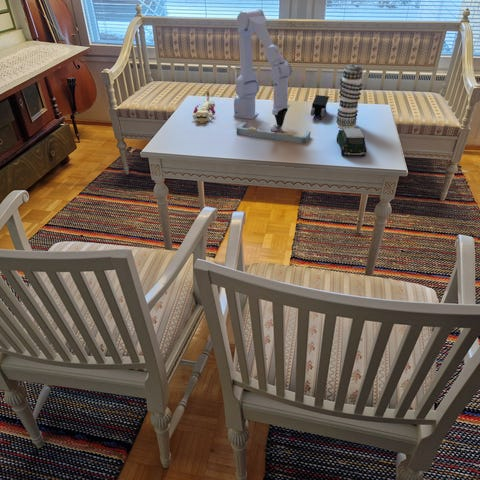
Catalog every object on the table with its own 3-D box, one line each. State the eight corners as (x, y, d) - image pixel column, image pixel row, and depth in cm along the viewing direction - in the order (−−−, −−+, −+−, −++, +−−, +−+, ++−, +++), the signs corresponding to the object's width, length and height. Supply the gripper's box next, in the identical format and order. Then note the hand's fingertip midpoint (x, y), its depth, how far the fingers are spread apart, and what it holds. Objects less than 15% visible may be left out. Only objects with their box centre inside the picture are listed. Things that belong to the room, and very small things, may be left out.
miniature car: (357, 139, 173) (360, 120, 168) (366, 158, 158) (370, 138, 154) (335, 139, 173) (337, 120, 169) (342, 158, 159) (345, 138, 154)
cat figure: (199, 108, 210) (190, 123, 189) (198, 90, 206) (188, 103, 184) (219, 109, 209) (212, 123, 188) (218, 90, 205) (211, 103, 183)
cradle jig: (236, 133, 180) (236, 126, 178) (243, 127, 185) (243, 120, 183) (304, 144, 170) (305, 136, 168) (310, 136, 175) (310, 129, 174)
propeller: (262, 137, 166) (263, 126, 165) (274, 131, 189) (276, 121, 187) (272, 139, 165) (274, 128, 164) (283, 132, 188) (285, 123, 186)
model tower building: (331, 123, 188) (337, 64, 173) (349, 120, 190) (357, 62, 175) (341, 130, 181) (349, 69, 166) (360, 127, 183) (369, 67, 168)
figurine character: (324, 124, 190) (328, 110, 201) (325, 108, 185) (330, 94, 196) (309, 123, 192) (314, 108, 202) (310, 107, 187) (315, 93, 197)
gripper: (284, 100, 167) (283, 133, 175) (294, 89, 178) (293, 120, 186) (267, 98, 170) (267, 131, 178) (279, 88, 180) (278, 119, 188)
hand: (279, 125), depth 182 cm, fingers closed, pressing on propeller
